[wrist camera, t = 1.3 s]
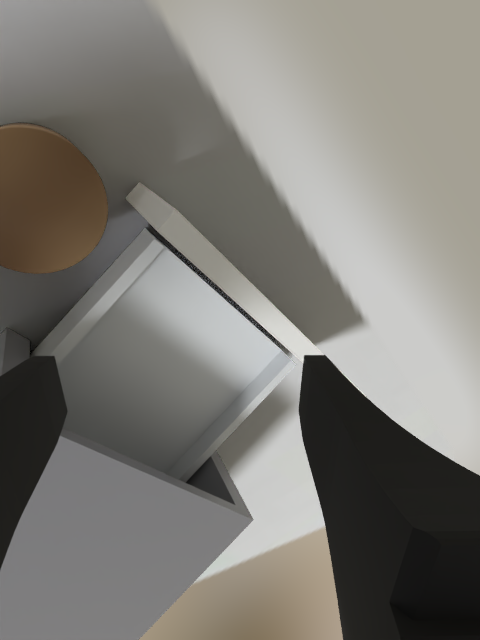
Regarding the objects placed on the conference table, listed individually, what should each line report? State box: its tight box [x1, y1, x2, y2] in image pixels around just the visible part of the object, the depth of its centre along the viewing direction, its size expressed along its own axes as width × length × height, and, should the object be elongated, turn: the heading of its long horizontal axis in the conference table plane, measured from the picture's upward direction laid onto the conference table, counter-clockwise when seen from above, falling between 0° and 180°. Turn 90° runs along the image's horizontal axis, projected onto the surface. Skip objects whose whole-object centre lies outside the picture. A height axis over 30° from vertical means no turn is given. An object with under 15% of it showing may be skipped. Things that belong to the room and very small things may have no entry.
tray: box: [30, 182, 367, 483], centre depth 22 cm, size 15×14×6 cm
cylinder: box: [0, 123, 108, 274], centre depth 16 cm, size 5×5×4 cm
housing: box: [0, 328, 253, 640], centre depth 22 cm, size 15×14×6 cm
